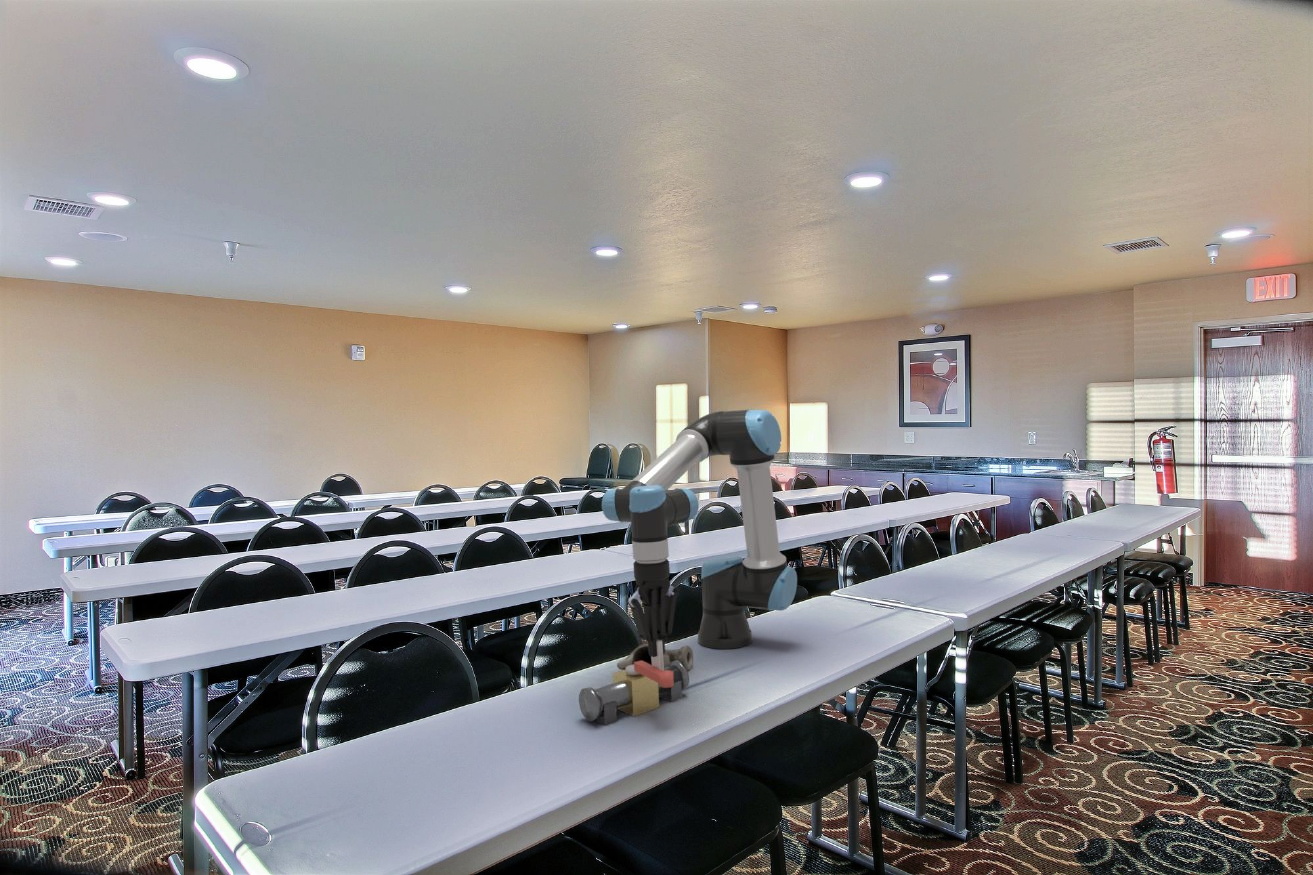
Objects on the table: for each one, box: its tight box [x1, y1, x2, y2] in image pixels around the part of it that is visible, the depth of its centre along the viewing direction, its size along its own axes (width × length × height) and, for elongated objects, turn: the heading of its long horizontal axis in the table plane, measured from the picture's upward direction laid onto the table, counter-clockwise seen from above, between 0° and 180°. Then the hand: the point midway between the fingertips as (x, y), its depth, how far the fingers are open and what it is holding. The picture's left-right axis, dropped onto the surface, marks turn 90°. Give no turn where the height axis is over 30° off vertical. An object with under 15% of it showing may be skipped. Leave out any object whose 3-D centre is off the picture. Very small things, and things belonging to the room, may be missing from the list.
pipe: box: [616, 642, 694, 672], centre depth 184 cm, size 16×9×15 cm
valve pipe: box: [578, 660, 690, 726], centre depth 163 cm, size 25×7×8 cm, turn 129°
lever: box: [626, 660, 674, 688], centre depth 158 cm, size 16×4×3 cm, turn 32°
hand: (657, 670), depth 158 cm, fingers closed
